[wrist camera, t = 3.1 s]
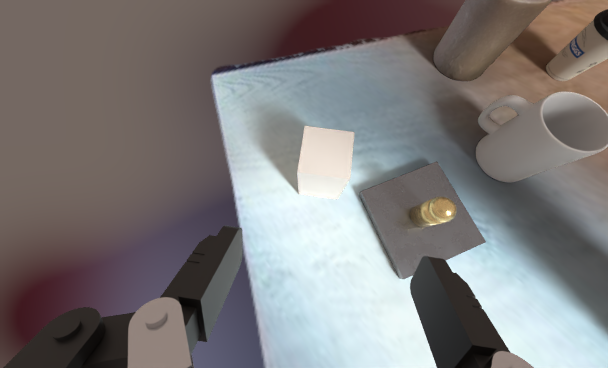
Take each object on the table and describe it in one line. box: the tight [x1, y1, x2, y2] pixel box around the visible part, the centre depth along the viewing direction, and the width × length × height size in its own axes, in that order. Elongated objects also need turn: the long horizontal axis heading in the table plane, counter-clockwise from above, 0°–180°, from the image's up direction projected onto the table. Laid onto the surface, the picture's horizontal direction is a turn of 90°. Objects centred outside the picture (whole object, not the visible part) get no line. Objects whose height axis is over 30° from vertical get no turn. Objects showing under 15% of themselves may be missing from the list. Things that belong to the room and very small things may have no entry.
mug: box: [476, 92, 608, 182], centre depth 33 cm, size 12×8×11 cm
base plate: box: [359, 162, 486, 279], centre depth 31 cm, size 13×13×8 cm
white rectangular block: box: [297, 126, 354, 200], centre depth 32 cm, size 6×6×10 cm
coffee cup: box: [546, 9, 608, 81], centre depth 38 cm, size 7×7×10 cm
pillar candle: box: [434, 0, 552, 81], centre depth 37 cm, size 10×10×15 cm
